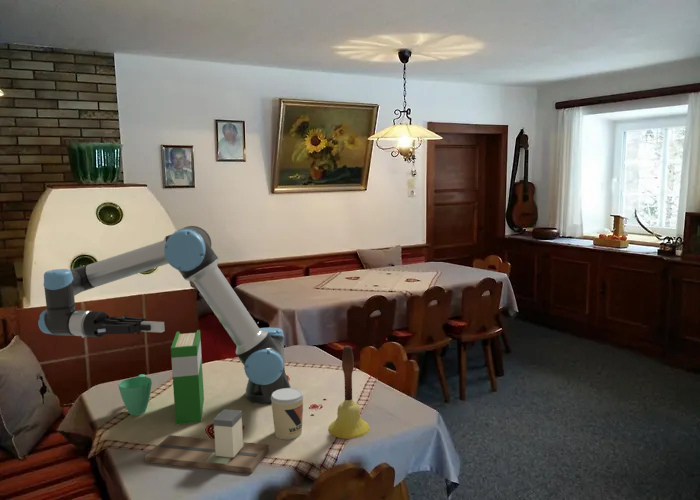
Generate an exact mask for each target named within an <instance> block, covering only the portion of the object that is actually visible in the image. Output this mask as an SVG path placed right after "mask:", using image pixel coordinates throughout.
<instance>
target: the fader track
mask: <svg viewBox="0 0 700 500" xmlns="http://www.w3.org/2000/svg"><path fill="white" fill-rule="evenodd" d="M269 451H270V444H265V443H256V442H255V443H254V442H244V441H243V447H242V448H241V449H240V451H239V452H238V453H237V454H236V455H235V457H234V458H233V457H223V456H216V450H215V438H214V439H213V438H204V437H203V438H202V437H194V436H182V435H172V434H169V435H168V436H167V437H166V438H164V439H163V440H162V441H161V442H160V443H158V444H157V445H156V446H155V447H154V448H152V449H151V451H149V452H148V453H147V454H146V455H145V456H144V462H145V463H153V464H154V463H155V464H163V465H170V466H171V465H172V466H180V467H181V466H182V467H191V468H200V469H208V470H215V471H217V470H218V471H226V472H228V471H229V472H237V473H246V474H253V472H254V471H255V470H256V468H257V467H258V466H259V464H260V463H261V462H262V461H263V459H264V458H265V456H266V455H267V454H268V452H269Z"/></svg>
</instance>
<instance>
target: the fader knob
mask: <svg viewBox="0 0 700 500" xmlns="http://www.w3.org/2000/svg"><path fill="white" fill-rule="evenodd" d="M212 421H213V430H214V439H215V450H216V456H223V457H233V458H234V457H235V455H236V454H237V453H238V452H239V451H240V449H241V448H242V447H243V442H244V438H243V411H242V410H238V409H237V410H236V409H226V408H225V409H222V411H220V413H218V415H217V416H215V417H214V418H213V420H212Z"/></svg>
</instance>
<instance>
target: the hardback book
mask: <svg viewBox="0 0 700 500" xmlns="http://www.w3.org/2000/svg"><path fill="white" fill-rule="evenodd" d="M170 357H171V369H172V370H171V371H172V373H171V374H172V384H173V385H172V386H173V389H172V390H173V402H174V403H173V404H174V417H175V418H174V419H175V425H176V426H177V425H186V424H195V423H202V419H203V418H202V417H203V409H204V402H205V393H204V392H205V391H204V378H203V377H204V375H203V374H204V373H203V357H202V342H201V330H200V329H197V330H196V332H188V333H180V331H176V332H175V336H174V338H173V341H172V344H171V346H170Z"/></svg>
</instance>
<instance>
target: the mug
mask: <svg viewBox="0 0 700 500" xmlns="http://www.w3.org/2000/svg"><path fill="white" fill-rule="evenodd" d="M152 382H153V380H152V378H151V377H148V376H146V374H142V373H141V374H139V375H138V376H135V377H134V376H133V377H130V378H126V379H124V380H122V381H120V382H119V383H118V390H119V393H120V396H121V399H122V402H123V404H124V406H125V409H126V410H127V412H128V414H129V415H130V416H140V415H143V414H145V413H146V411H147V407H148V406H149V405H148V404H149V401H150V397H151V391H152Z"/></svg>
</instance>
